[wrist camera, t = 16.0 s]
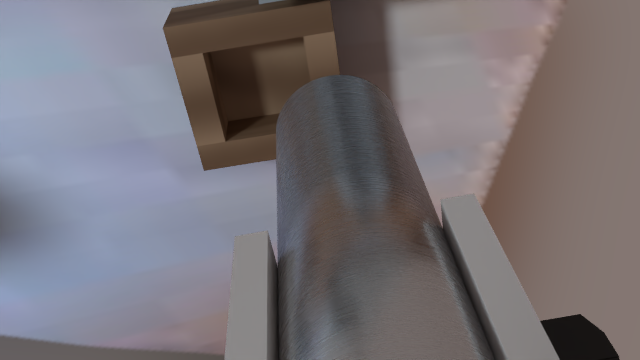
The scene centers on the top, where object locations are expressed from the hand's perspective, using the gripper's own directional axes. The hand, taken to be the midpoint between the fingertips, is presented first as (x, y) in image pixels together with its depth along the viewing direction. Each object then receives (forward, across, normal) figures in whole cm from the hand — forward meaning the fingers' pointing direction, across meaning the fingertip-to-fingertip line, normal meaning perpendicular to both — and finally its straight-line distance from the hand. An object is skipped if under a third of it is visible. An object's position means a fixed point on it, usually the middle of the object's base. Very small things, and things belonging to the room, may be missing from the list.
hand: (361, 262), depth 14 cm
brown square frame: (+29, -4, -6) cm, 30 cm away
